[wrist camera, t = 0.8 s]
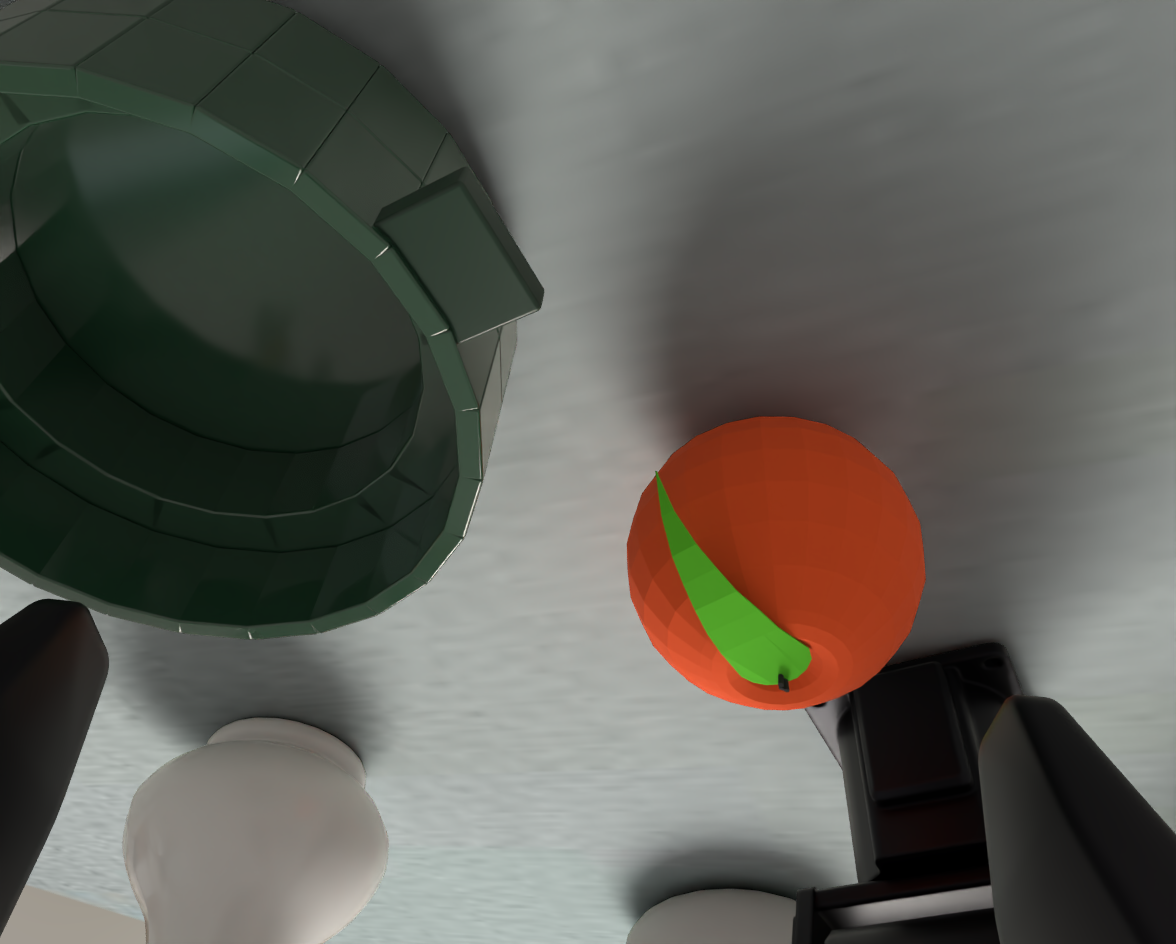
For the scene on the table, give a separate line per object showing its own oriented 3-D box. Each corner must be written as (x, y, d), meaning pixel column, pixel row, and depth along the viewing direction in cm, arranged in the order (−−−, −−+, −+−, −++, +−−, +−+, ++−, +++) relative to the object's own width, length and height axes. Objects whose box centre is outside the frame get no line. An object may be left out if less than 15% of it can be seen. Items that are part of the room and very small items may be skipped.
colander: (617, 390, 24) (602, 546, 20) (223, 539, 29) (145, 689, 24) (270, -180, 16) (130, -122, 12) (-183, 151, 21) (-393, 272, 17)
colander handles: (546, 290, 17) (541, 311, 16) (-51, 549, 23) (-68, 570, 22) (468, 162, 15) (460, 181, 15) (-148, 474, 21) (-168, 495, 21)
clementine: (552, 419, 25) (515, 634, 19) (780, 274, 21) (811, 483, 16) (729, 588, 28) (739, 807, 23) (946, 486, 25) (1017, 714, 20)
